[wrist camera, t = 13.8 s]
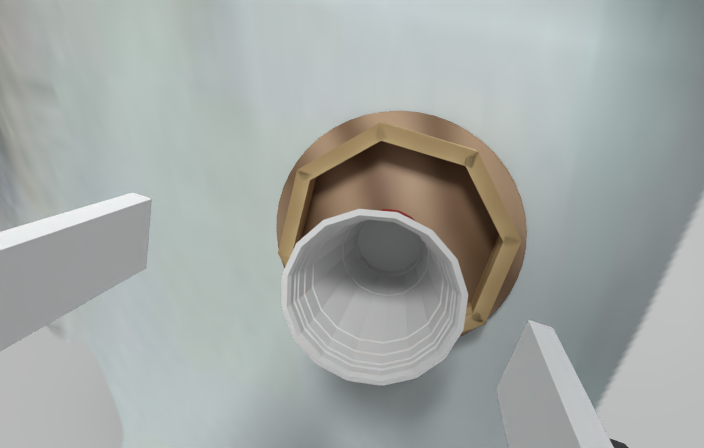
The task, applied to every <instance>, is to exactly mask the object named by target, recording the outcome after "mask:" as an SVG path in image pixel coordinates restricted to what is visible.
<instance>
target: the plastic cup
mask: <svg viewBox="0 0 704 448" xmlns="http://www.w3.org/2000/svg"><path fill="white" fill-rule="evenodd" d="M467 301H468V292H467V289H466V286H465V282H464V279H463V276H462V272H461V269H460V266H459V263H458V259H457V258H456V257H455V256H454V255H453V254H452V252H451V251H450V250H449V249H448V248H447V246H446V245H445V244H444V243H443V242H442V241H441V239H440V238H439V237H438V236H437V235H436V234H435V232H434V231H433V230H431V229H429V228H427V227H425V226H424V225H422V224H420V223H418V222H416V221H415V220H414V219H413V218H412V217H411V216H409V215H407V214H405V213H403V212H401V211H399V210H391V209H382V210H367V209H357V210H353V211H350V212H347V213H344V214H341V215H338V216H334V217H331V218H328V219H325V220H323V221H322V222H320V223H319V224H318V225H317V226H316V227H315V228H313V229H312V230H311V231H310V232H309V233H308V234H306V235H305V236H304V237H303V238H302V239H301V240H299V241H298V242H297V243H296V245H295V247H294V249H293V252H292V254H291V256H290V258H289V260H288V262H287V264H286V266H285V269H284V271H283V273H282V294H281V308H282V311H283V313H284V316H285V319H286V321H287V324H288V326H289V329H290V332H291V334H292V337H293V339H294V340H295V341H296V342H297V344H298V345H299V346H300V347H301V348H302V349H303V350H304V351H305V352H306V353H307V355H308V356H309V357H310V358H311V359H312V360H313V361H314V362H315V363H316V365H318V366H320V367H322V368H324V369H326V370H328V371H330V372H332V373H333V374H335V375H337V376H339V377H341V378H343V379H345V380H347V381H352V382H359V383H366V384H373V385H380V386H384V385H388V384H393V383H398V382H402V381H407V380H412V379H416V378H418V377H419V376H421V375H422V374H424V373H425V372H427V371H428V370H430V369H431V368H433V367H434V366H436V365H437V364H438V363H440V362H441V361H443V360H444V359H445V358H446V357H447V355H448V354H449V352H450V350H451V349H452V347H453V346H454V344H455V343H456V341H457V339H458V338H459V336H460V335H461V333H462V332H463V330H464V323H465V315H466V308H467Z"/></svg>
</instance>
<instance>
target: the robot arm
mask: <svg viewBox="0 0 704 448" xmlns="http://www.w3.org/2000/svg"><path fill="white" fill-rule="evenodd" d="M151 202H152V199H150V198H147V197H144V196H141V195H138V194H135V193H129V194H126V195H123V196H119V197H116V198H113V199H109V200H106V201H103V202H99V203H96V204H92V205H89V206H86V207H82V208H79V209H76V210H72V211H69V212H66V213H62V214H59V215H55V216H52V217H49V218H45V219H42V220H39V221H35V222H32V223H29V224H25V225H22V226H18V227H15V228H12V229H8V230H5V231H2V232H0V351H2V350H3V349H5V348H7V347H9V346H10V345H12V344H14V343H16V342H17V341H19V340H21V339H22V338H24V337H26V336H28V335H30V334H31V333H33V332H35V331H37V330H38V329H40V328H42V327H44V326H45V325H47V324H49V323H51V322H52V321H54V320H56V319H58V318H59V317H61V316H63V315H65V314H67V313H68V312H70V311H72V310H74V309H75V308H77V307H79V306H81V305H82V304H84V303H86V302H88V301H89V300H91V299H93V298H95V297H96V296H98V295H100V294H102V293H103V292H105V291H107V290H109V289H110V288H112V287H114V286H116V285H117V284H119V283H121V282H123V281H124V280H126V279H128V278H130V277H131V276H133V275H135V274H137V273H138V272H140V271H142V270H144V269H146V264H147V251H148V239H149V226H150V214H151ZM496 390H497V395H498V400H499V405H500V410H501V415H502V420H503V425H504V430H505V435H506V440H507V445H508V448H628V447H627V446H626V445H625V444H624V443H621V442H618V441H615V440H612V439H609V437H608V435H607V433H606V431H605V429H604V427H603V425H602V423H601V421H600V419H599V417H598V415H597V413H596V411H595V409H594V407H593V405H592V403H591V401H590V399H589V397H588V396H587V394H586V392H585V390H584V388H583V386H582V384H581V382H580V380H579V378H578V376H577V374H576V372H575V370H574V368H573V366H572V364H571V362H570V360H569V358H568V356H567V354H566V352H565V350H564V348H563V346H562V344H561V342H560V340H559V338H558V336H557V334H556V332H555V330H554V328H553V327H549V326H546V325H543V324H540V323H537V322H534V321H531V320H528V321H527V323H526V326H525V328H524V330H523V332H522V334H521V336H520V338H519V341H518V343H517V345H516V347H515V349H514V351H513V354H512V356H511V358H510V360H509V362H508V364H507V366H506V369H505V371H504V373H503V375H502V377H501V379H500V381H499V384H498V386H497V388H496Z"/></svg>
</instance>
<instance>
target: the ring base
mask: <svg viewBox="0 0 704 448" xmlns="http://www.w3.org/2000/svg"><path fill="white" fill-rule="evenodd" d="M357 209H367V210H382V209H391V210H399V211H401V212H403V213H405V214H407V215H409V216H411V217H412V218H413V219H414V220H415V221H416V222H418V223H420V224H422V225H424V226H425V227H427V228H429V229H431V230H433V231H434V232H435V234H436V235H437V236H438V237H439V238H440V239H441V241H442V242H443V243H444V244H445V245H446V246H447V248H448V249H449V250H450V251H451V252H452V254H453V255H454V256H455V257H456V258H457V259H458V263H459V266H460V269H461V272H462V276H463V279H464V282H465V286H466V289H467V292H468V301H467V308H466V315H465V323H464V330H463V332H462V333H461V335H460V336H459V337H461V336H463V335H465V334H466V333H468V332H470V331H471V330H473V329H475V328H476V327H478V326H481V325H484V324H485V323H486V320H487V319H488V318H489V317H490V316H491V315H492V314H493V313H494V312H495V311H496V310H497V309H498V308H499V307H500V306H501V304H502V303H503V301H504V300H505V299H506V297H507V296H508V295H509V293H510V291H511V289H512V288H513V286H514V284H515V282H516V280H517V278H518V275H519V272H520V270H521V267H522V263H523V259H524V254H525V249H526V235H527V231H526V219H525V213H524V208H523V204H522V200H521V197H520V194H519V192H518V189H517V187H516V184H515V182H514V180H513V179H512V177H511V175H510V173H509V172H508V170H507V168H506V167H505V166H504V164H503V163H502V162H501V161H500V159H499V158H498V157H497V155H496V154H495V153H494V152H493V151H492V150H491V149H490V148H489V147H488V146H487V145H486V144H485V143H483V142H482V141H481V140H480V139H478V138H477V137H475V136H474V135H473V134H471V133H470V132H469V131H467V130H465V129H463V128H462V127H460V126H458V125H456V124H454V123H452V122H450V121H447V120H444V119H442V118H439V117H436V116H432V115H428V114H423V113H419V112H408V111H390V112H379V113H374V114H369V115H364V116H361V117H358V118H355V119H352V120H349V121H347V122H345V123H343V124H341V125H339V126H337V127H335V128H333V129H332V130H330V131H329V132H327V133H326V134H324V135H323V136H322V137H320V138H319V139H318V140H317V141H316V142H315V143H313V144H312V145H311V146H310V147H309V148H308V149H307V150H306V151H305V153H304V154H303V155H302V156H301V157H300V159H299V160H298V161H297V163H296V164H295V166H294V168H293V169H292V171H291V172H290V174H289V176H288V179H287V181H286V183H285V185H284V188H283V191H282V194H281V198H280V201H279V207H278V213H277V240H278V247H279V251H278V254H279V256H280V258H281V260H282V263H283V265H284V268H285V266H286V264H287V262H288V260H289V258H290V256H291V254H292V252H293V249H294V247H295V245H296V243H297V242H298V241H299V240H301V239H302V238H303V237H304V236H305V235H306V234H308V233H309V232H310V231H311V230H312V229H313V228H315V227H316V226H317V225H318V224H319V223H320V222H322V221H323V220H325V219H328V218H331V217H334V216H338V215H341V214H344V213H347V212H350V211H353V210H357Z"/></svg>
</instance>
